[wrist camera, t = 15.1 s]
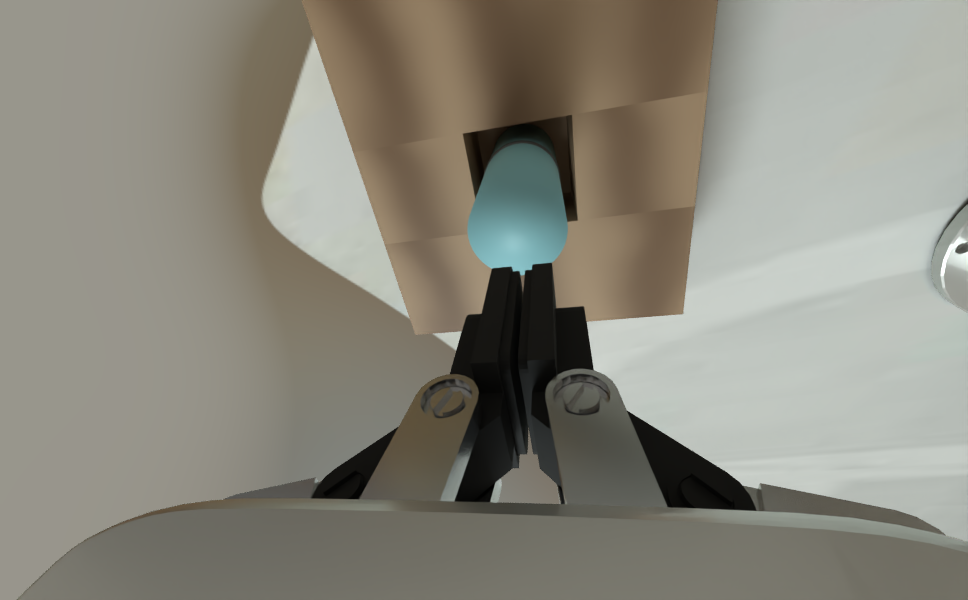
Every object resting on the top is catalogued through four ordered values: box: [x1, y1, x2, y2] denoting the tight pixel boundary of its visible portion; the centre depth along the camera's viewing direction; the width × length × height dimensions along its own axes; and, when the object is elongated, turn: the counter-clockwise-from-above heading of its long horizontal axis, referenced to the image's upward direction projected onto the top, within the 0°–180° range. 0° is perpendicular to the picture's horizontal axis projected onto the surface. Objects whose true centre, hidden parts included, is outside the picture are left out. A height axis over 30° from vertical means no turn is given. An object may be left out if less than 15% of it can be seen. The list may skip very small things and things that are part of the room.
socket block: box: [302, 0, 718, 335], centre depth 24 cm, size 18×20×6 cm
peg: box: [467, 124, 568, 275], centre depth 21 cm, size 4×4×12 cm
